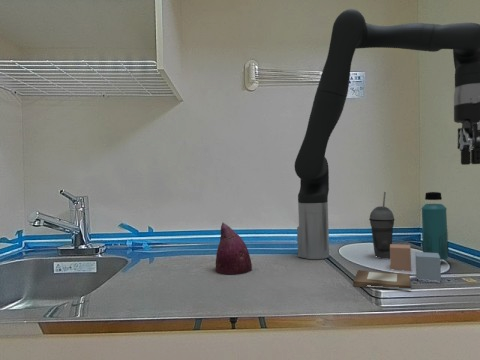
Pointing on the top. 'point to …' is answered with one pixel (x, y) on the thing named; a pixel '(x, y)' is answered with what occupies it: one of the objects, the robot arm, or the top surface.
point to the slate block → (428, 266)
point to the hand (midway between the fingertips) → (470, 164)
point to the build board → (381, 279)
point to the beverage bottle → (435, 227)
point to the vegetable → (232, 253)
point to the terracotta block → (400, 257)
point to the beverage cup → (382, 229)
